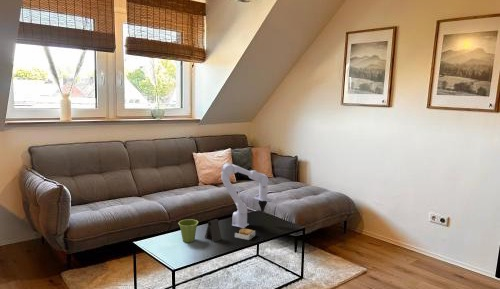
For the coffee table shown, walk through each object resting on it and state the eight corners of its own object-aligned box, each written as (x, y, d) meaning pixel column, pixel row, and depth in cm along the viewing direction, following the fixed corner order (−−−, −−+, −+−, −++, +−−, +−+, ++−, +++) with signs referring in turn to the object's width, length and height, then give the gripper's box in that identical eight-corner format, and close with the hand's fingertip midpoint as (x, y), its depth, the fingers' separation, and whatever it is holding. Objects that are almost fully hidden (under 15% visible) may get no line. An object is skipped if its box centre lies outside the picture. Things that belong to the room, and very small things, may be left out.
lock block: (238, 236, 229) (239, 230, 229) (242, 234, 234) (242, 228, 233) (249, 238, 226) (249, 232, 226) (252, 236, 231) (252, 230, 230)
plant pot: (190, 235, 230) (190, 217, 228) (202, 240, 222) (202, 222, 220) (174, 239, 222) (174, 222, 220) (185, 245, 213) (185, 227, 212)
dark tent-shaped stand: (221, 239, 224) (221, 220, 222) (214, 242, 219) (214, 223, 218) (212, 235, 230) (212, 217, 228) (204, 238, 226) (204, 219, 224)
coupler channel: (234, 237, 228) (234, 232, 228) (241, 232, 236) (241, 228, 236) (249, 240, 224) (249, 235, 223) (255, 235, 232) (255, 230, 231)
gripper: (251, 192, 247) (250, 211, 248) (271, 194, 241) (270, 214, 243) (254, 189, 253) (254, 208, 255) (274, 192, 248) (274, 211, 250)
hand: (262, 211), depth 249 cm, fingers closed
